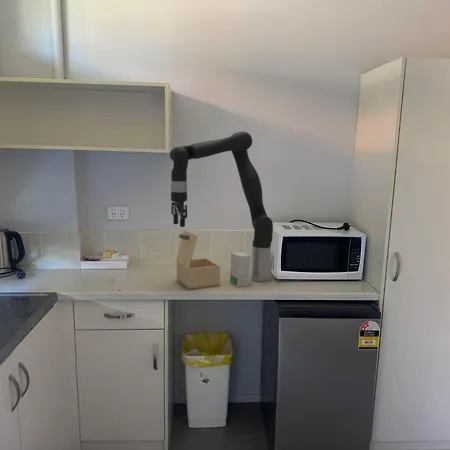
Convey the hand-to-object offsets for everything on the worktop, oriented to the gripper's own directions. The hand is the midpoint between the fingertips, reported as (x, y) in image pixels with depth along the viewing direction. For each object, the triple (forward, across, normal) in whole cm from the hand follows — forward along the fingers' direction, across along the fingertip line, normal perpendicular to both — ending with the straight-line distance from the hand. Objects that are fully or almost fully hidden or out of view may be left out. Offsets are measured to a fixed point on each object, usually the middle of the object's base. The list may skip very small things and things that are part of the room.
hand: (179, 225), depth 192 cm
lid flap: (+12, 0, -4) cm, 12 cm away
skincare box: (+30, -10, -28) cm, 42 cm away
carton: (+29, 0, -10) cm, 31 cm away
